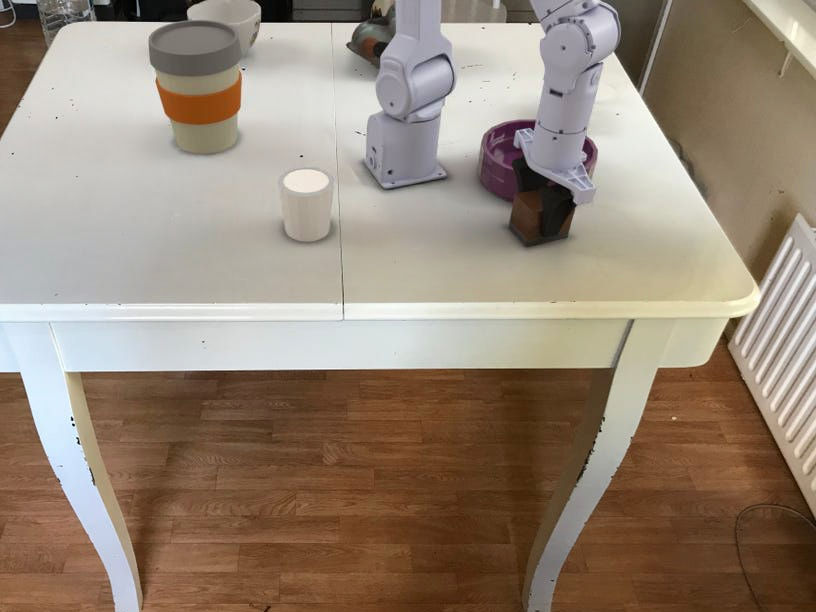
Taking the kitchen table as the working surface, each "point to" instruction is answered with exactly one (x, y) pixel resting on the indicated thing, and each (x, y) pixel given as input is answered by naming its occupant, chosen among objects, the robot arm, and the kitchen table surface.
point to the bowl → (502, 152)
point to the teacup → (231, 18)
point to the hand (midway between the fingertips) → (539, 223)
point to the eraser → (532, 219)
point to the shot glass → (306, 202)
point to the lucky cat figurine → (374, 35)
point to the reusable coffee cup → (199, 82)
